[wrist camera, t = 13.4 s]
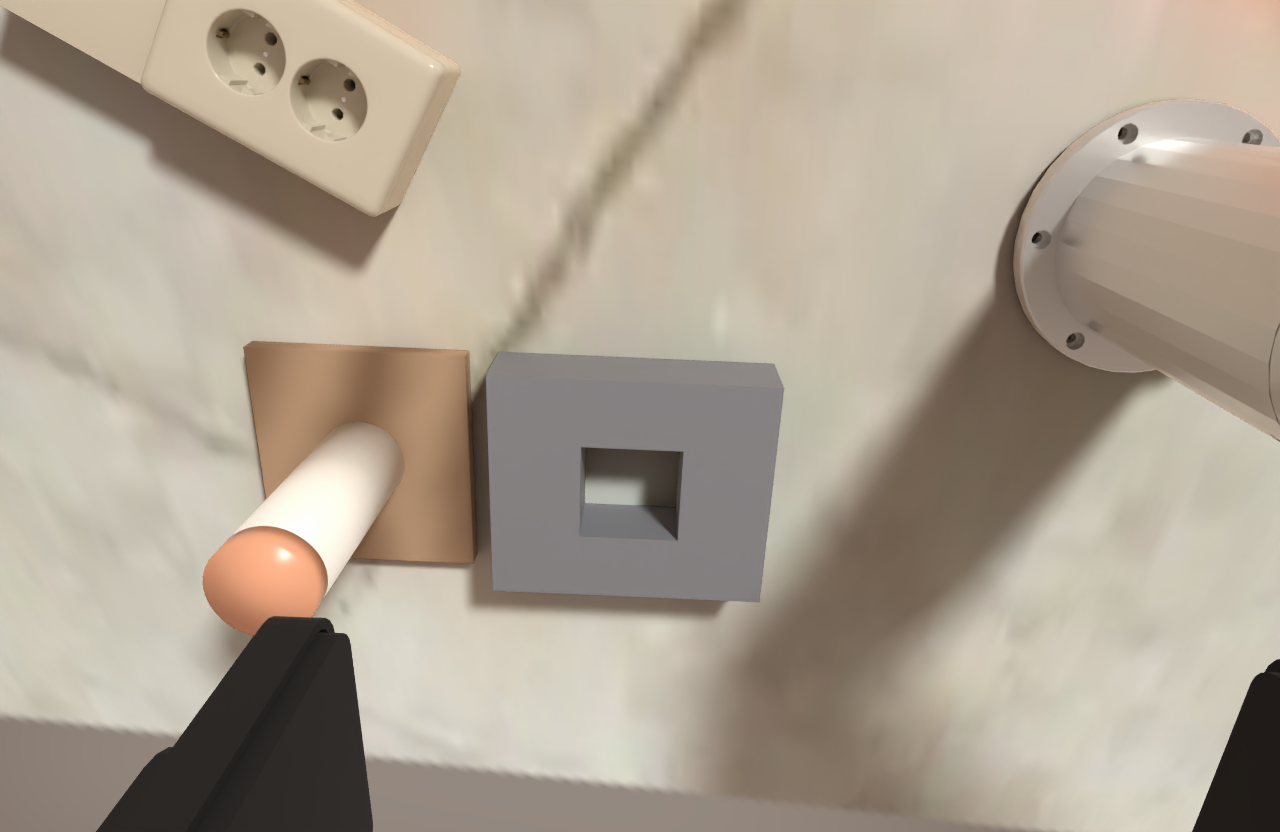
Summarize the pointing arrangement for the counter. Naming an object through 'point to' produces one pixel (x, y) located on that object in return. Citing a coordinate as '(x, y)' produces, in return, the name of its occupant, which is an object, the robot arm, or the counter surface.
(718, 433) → the socket block
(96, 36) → the electrical outlet
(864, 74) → the counter surface
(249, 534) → the plug
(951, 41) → the counter surface
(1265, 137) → the robot arm
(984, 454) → the counter surface
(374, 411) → the board
